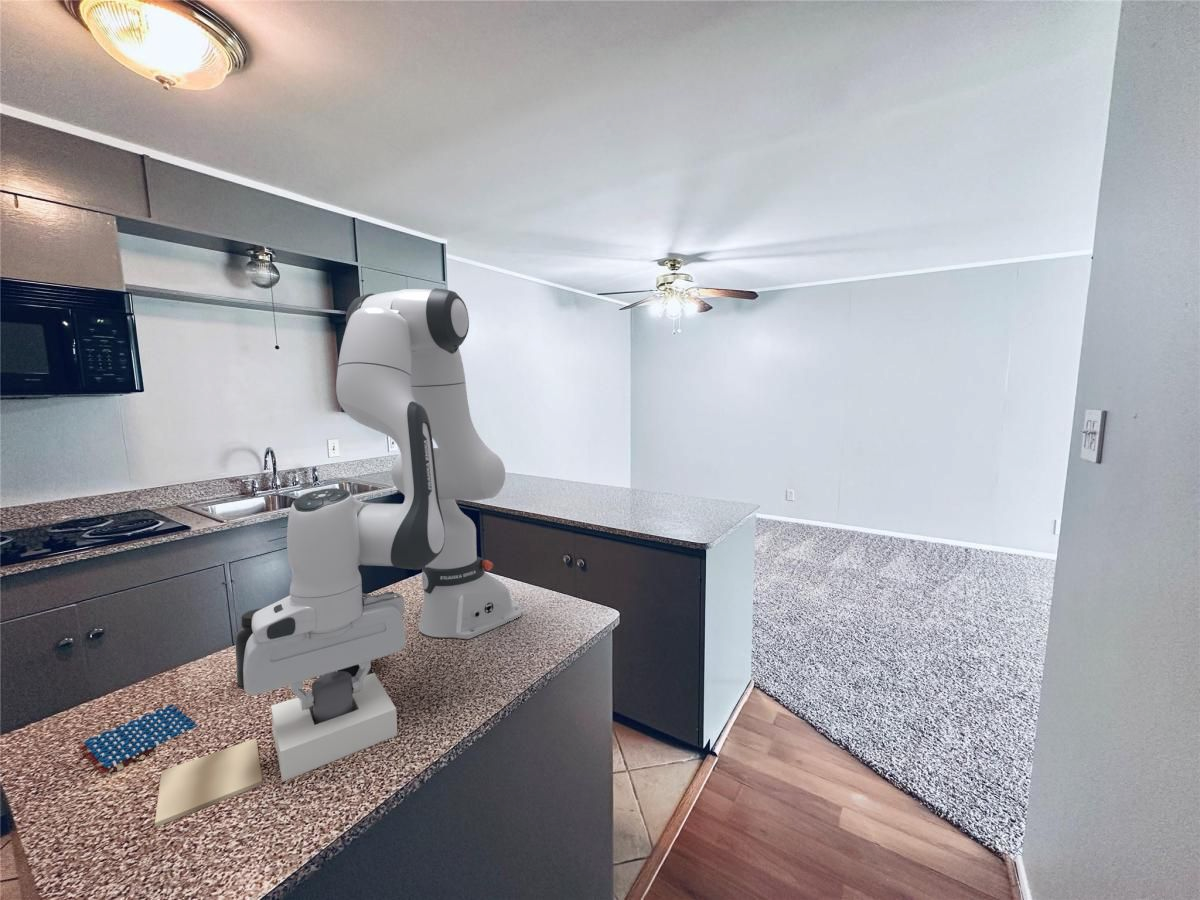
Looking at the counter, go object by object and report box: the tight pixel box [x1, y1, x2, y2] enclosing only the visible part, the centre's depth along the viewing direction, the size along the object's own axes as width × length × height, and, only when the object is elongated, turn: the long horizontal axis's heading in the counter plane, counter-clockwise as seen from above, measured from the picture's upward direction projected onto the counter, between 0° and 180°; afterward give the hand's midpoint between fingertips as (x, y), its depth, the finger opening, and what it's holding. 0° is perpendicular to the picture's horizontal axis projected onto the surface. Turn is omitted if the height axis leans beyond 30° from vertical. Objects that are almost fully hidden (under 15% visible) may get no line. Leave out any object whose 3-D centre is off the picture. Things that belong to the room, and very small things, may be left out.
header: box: [270, 672, 398, 782], centre depth 71 cm, size 14×12×5 cm
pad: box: [154, 737, 263, 828], centre depth 62 cm, size 10×10×2 cm
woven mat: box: [80, 703, 198, 778], centre depth 70 cm, size 10×11×2 cm
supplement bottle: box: [234, 607, 264, 688], centre depth 86 cm, size 7×7×12 cm
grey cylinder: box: [311, 671, 353, 725], centre depth 70 cm, size 5×5×8 cm
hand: (332, 698), depth 70 cm, fingers closed on grey cylinder, 5 cm apart
